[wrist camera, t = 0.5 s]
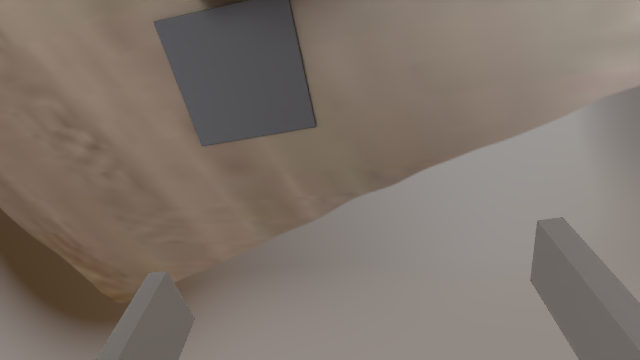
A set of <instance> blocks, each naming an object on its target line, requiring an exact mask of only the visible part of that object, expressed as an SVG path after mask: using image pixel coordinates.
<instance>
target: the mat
mask: <svg viewBox="0 0 640 360" xmlns="http://www.w3.org/2000/svg"><path fill="white" fill-rule="evenodd" d="M154 25H155V27H156V30H157V32H158V35H159V37H160V40H161V42H162V45H163V48H164V50H165V53H166V55H167V58H168V60H169V63H170V66H171V68H172V71H173V73H174V76H175V78H176V81H177V83H178V86H179V89H180V91H181V94H182V96H183V99H184V101H185V104H186V107H187V109H188V112H189V114H190V117H191V119H192V122H193V125H194V127H195V130H196V132H197V135H198V137H199V140H200V142H201V145H202V146H206V145H211V144H217V143H223V142H229V141H235V140H241V139H247V138H252V137H258V136H264V135H270V134H276V133H282V132H288V131H293V130H299V129H305V128H311V127H316V123H315V119H314V114H313V109H312V105H311V100H310V95H309V91H308V86H307V81H306V77H305V72H304V67H303V63H302V58H301V53H300V49H299V44H298V39H297V35H296V30H295V25H294V20H293V16H292V11H291V6H290V2H289V0H248V1H244V2H239V3H235V4H230V5H226V6H221V7H217V8H212V9H208V10H203V11H199V12H195V13H190V14H186V15H181V16H177V17H172V18H168V19H163V20H159V21H155V22H154Z"/></svg>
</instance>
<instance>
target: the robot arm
mask: <svg viewBox="0 0 640 360" xmlns="http://www.w3.org/2000/svg"><path fill="white" fill-rule="evenodd" d="M531 282H532V284H533V285H534V287H535V289H536V290H537V292H538V293H539V295H540V297H541V298H542V300H543V302H544V303H545V305H546V306H547V308H548V310H549V311H550V313H551V314H552V316H553V318H554V320H555V321H556V323H557V325H558V326H559V328H560V329H561V331H562V332H563V334H564V336H565V338H566V339H567V341H568V342H569V344H570V346H571V347H572V349H573V351H574V352H575V354H576V355H577V357H578V359H579V360H640V303H639V302H638V301H637V299H636V298H635V297H634V296H633V295H632V294H631V293H630V292H629V291H628V290H627V288H626V287H625V286H624V285H623V284H622V283H621V282H620V281H619V279H618V278H617V277H616V276H615V275H614V274H613V273H612V272H611V270H610V269H609V268H608V267H607V266H606V265H605V264H604V263H603V262H602V260H600V258H599V257H598V256H597V255H596V254H595V253H594V252H593V250H592V249H591V248H590V247H589V246H588V245H587V244H586V243H585V242H584V240H583V239H582V238H581V237H580V236H579V235H578V234H577V233H576V232H575V230H574V229H573V228H572V227H571V226H570V225H569V224H568V223H567V222H566V221H565V219H564V218H563V217H561V218H554V219H547V220H539V221H537V228H536V237H535V245H534V254H533V262H532V271H531ZM194 320H195V317H194V316H193V314H192V313H191V311H190V309H189V307H188V306H187V304H186V302H185V300H184V299H183V297H182V295H181V294H180V292H179V291H178V289H177V287H176V285H175V284H174V282H173V280H172V279H171V277H170V275H169V273H168V272H167V271H162V272H155V273H148V275H147V277H146V278H145V280H144V281H143V283H142V285H141V286H140V288H139V290H138V291H137V293H136V295H135V296H134V298H133V299H132V301H131V303H130V304H129V306H128V308H127V310H126V311H125V313H124V314H123V316H122V317H121V319H120V321H119V322H118V324H117V326H116V327H115V329H114V330H113V332H112V334H111V335H110V337H109V339H108V340H107V342H106V343H105V345H104V347H103V349H102V350H101V352H100V353H99V355H98V357H97V358H96V360H179V357H180V355H181V352H182V350H183V347H184V345H185V342H186V340H187V337H188V334H189V332H190V329H191V327H192V325H193V322H194Z"/></svg>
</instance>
